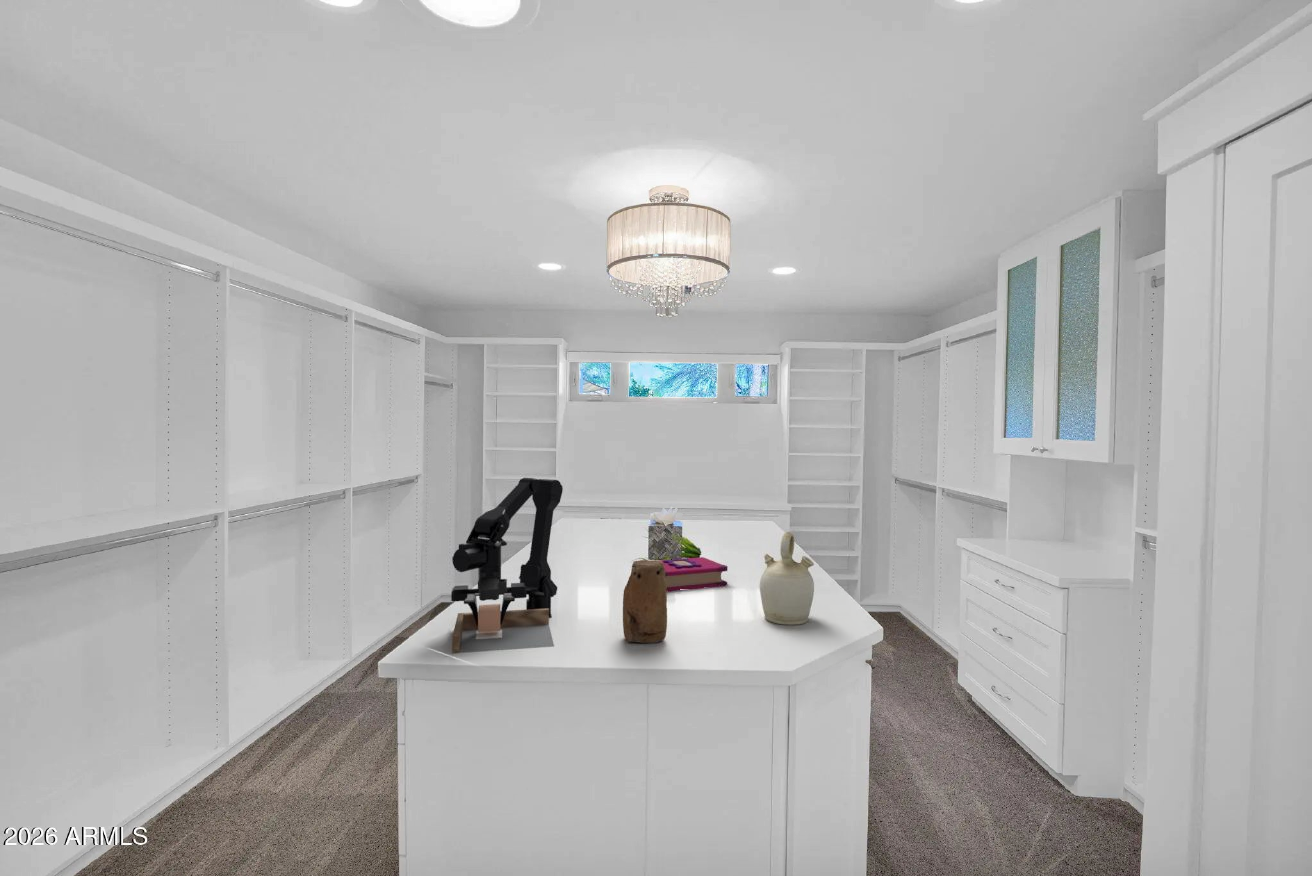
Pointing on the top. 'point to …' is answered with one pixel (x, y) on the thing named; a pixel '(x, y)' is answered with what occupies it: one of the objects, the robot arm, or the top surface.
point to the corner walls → (509, 620)
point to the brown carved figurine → (645, 603)
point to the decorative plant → (685, 549)
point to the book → (693, 573)
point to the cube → (489, 618)
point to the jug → (787, 586)
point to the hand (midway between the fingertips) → (489, 624)
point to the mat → (506, 638)
